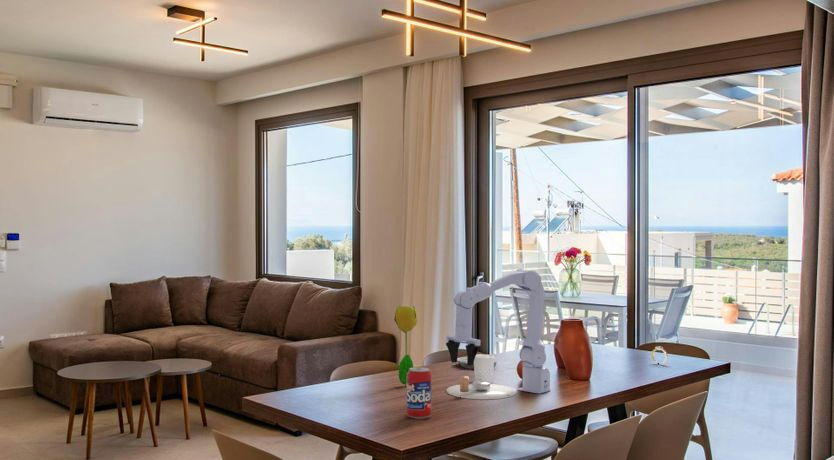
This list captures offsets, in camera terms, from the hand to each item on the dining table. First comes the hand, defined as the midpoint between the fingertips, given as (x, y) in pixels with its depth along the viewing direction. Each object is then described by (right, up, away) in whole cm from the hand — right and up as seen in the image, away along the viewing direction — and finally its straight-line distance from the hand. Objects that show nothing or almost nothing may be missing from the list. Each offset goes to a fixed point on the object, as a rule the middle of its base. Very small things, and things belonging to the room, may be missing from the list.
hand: (462, 363), depth 268 cm
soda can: (-15, -11, -31) cm, 36 cm away
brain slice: (+9, -12, +58) cm, 60 cm away
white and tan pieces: (+5, -10, +3) cm, 11 cm away
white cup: (+10, -12, +24) cm, 29 cm away
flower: (-20, -11, +16) cm, 28 cm away
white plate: (+7, -11, +6) cm, 15 cm away
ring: (+90, -12, +65) cm, 112 cm away
